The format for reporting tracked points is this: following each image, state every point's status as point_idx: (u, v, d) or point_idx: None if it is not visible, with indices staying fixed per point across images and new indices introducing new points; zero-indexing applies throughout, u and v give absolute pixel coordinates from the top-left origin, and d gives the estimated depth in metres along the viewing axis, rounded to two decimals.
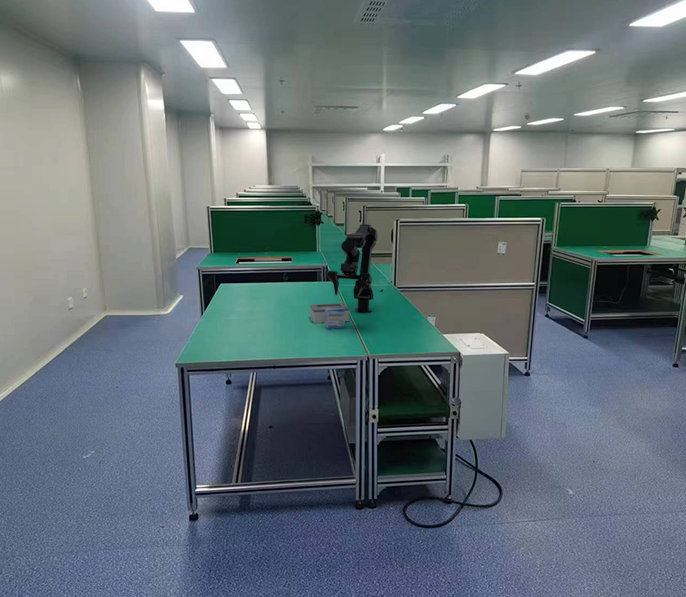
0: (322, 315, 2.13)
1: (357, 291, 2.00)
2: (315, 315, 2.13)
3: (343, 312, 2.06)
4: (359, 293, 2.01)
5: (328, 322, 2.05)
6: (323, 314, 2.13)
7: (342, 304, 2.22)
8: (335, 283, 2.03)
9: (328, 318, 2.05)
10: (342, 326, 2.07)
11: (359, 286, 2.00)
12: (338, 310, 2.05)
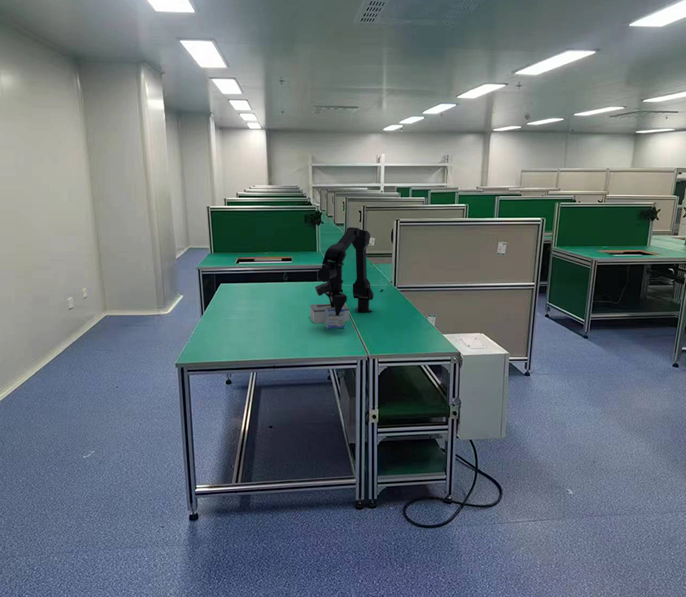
0: (322, 315, 2.13)
1: (335, 311, 2.02)
2: (315, 315, 2.13)
3: (343, 312, 2.06)
4: (338, 312, 2.02)
5: (328, 322, 2.05)
6: (323, 314, 2.13)
7: None
8: (329, 299, 2.11)
9: (328, 318, 2.05)
10: (342, 326, 2.07)
11: (334, 306, 2.01)
12: None
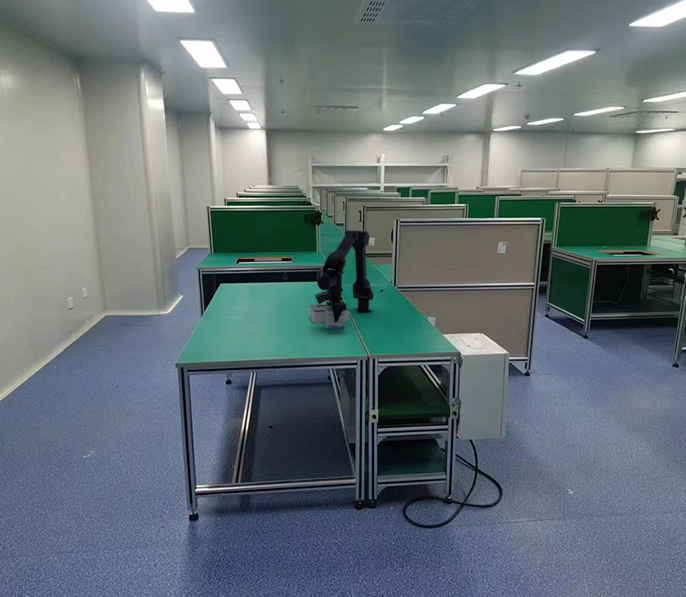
0: (322, 315, 2.13)
1: None
2: (315, 315, 2.13)
3: (343, 312, 2.06)
4: (337, 318, 2.05)
5: (328, 322, 2.05)
6: (323, 314, 2.13)
7: None
8: None
9: (328, 318, 2.05)
10: (342, 326, 2.07)
11: (333, 313, 2.04)
12: None
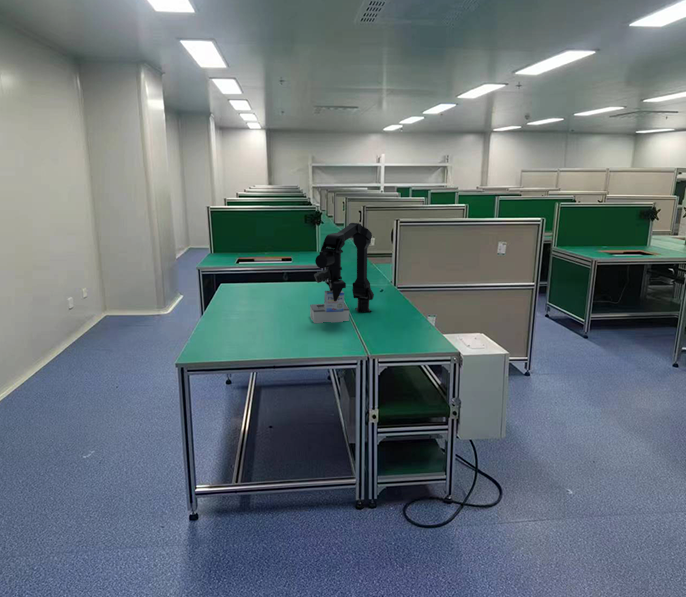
0: (322, 315, 2.13)
1: (333, 296, 2.05)
2: (315, 315, 2.13)
3: (342, 295, 2.07)
4: (336, 297, 2.05)
5: (327, 305, 2.06)
6: (323, 314, 2.13)
7: None
8: (329, 287, 2.10)
9: (327, 301, 2.06)
10: (341, 309, 2.08)
11: None
12: None
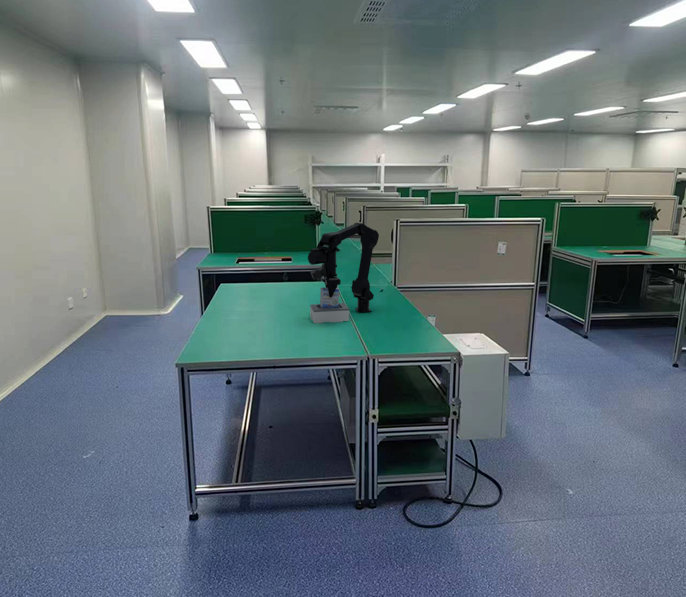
0: (322, 315, 2.13)
1: None
2: (315, 315, 2.13)
3: (337, 292, 2.15)
4: (332, 294, 2.14)
5: (323, 301, 2.15)
6: (323, 314, 2.13)
7: (342, 304, 2.22)
8: (325, 284, 2.19)
9: (323, 297, 2.14)
10: (336, 306, 2.17)
11: (328, 288, 2.13)
12: None
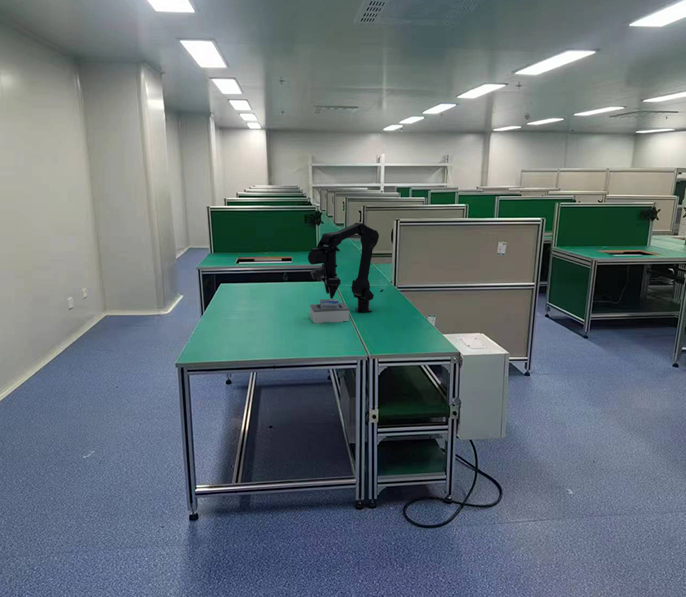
0: (322, 315, 2.13)
1: None
2: (315, 315, 2.13)
3: (337, 304, 2.16)
4: (333, 295, 2.12)
5: None
6: (323, 314, 2.13)
7: (342, 304, 2.22)
8: (324, 283, 2.21)
9: None
10: None
11: (329, 289, 2.11)
12: (332, 302, 2.15)
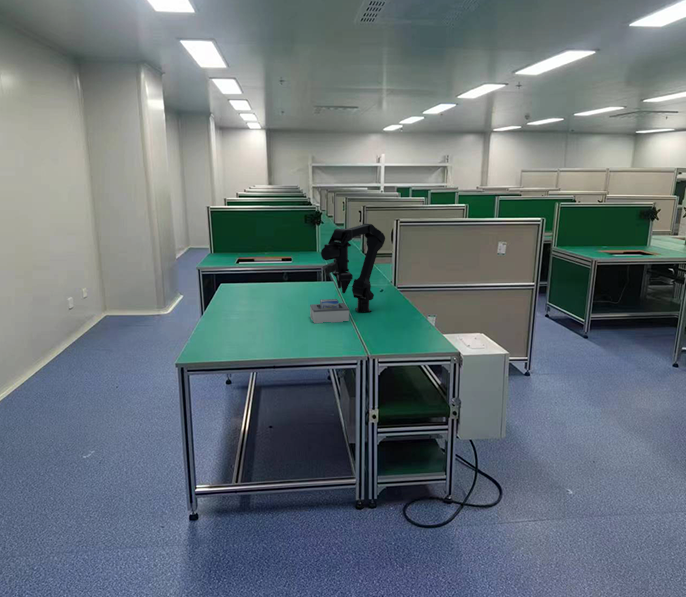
0: (322, 315, 2.13)
1: None
2: (315, 315, 2.13)
3: (337, 304, 2.16)
4: (345, 289, 2.14)
5: None
6: (323, 314, 2.13)
7: (342, 304, 2.22)
8: (336, 278, 2.23)
9: None
10: None
11: (341, 284, 2.13)
12: (332, 302, 2.15)
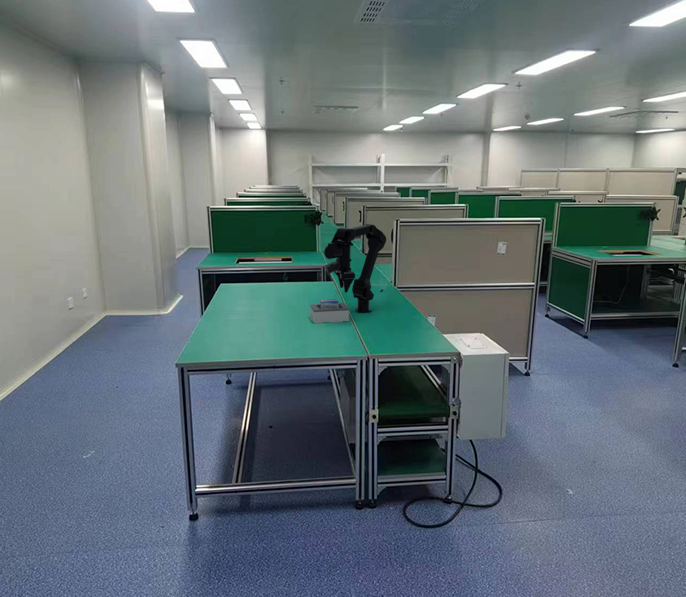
0: (322, 315, 2.13)
1: (344, 288, 2.15)
2: (315, 315, 2.13)
3: (337, 304, 2.16)
4: (347, 288, 2.15)
5: None
6: (323, 314, 2.13)
7: (342, 304, 2.22)
8: (338, 277, 2.24)
9: None
10: None
11: (343, 283, 2.14)
12: (332, 302, 2.15)
